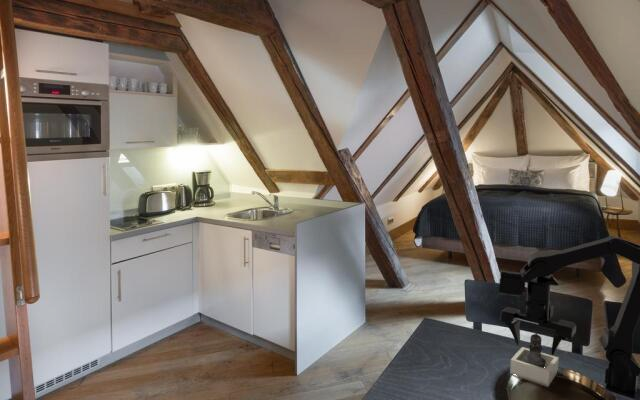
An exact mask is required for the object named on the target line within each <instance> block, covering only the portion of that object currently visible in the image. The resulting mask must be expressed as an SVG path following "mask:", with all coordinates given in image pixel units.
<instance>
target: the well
mask: <svg viewBox="0 0 640 400" xmlns="http://www.w3.org/2000/svg"><path fill="white" fill-rule="evenodd" d="M529 352H530V348H529V347H524V346H521V348H520V349H519V350H518V351H517V352H516V353H515V354H514V356H513V357H512V358H511V359H510V365H509V366H510V368H509V369H510V371H509V374H510V375H511V374H516V375H517V376H518V377H517V376H516V377H517V378H520V379H523V380H526V381H528V382H531V383H535V384H538V385H540V386H544V387H546V388H549V386H550V385H551V383H552V381H553V380H554V379H555V377H556V375H557V374H558V373H557V370H558V371H559V360H560V359H559V358H560V357H559V356H555V355H553V356H552V354H551V355H550V354H547V353H544V352H541V357H542V358H544V359H545V360H546V364H545V366H544V367H545V368H542V367H538V366H535V365H532V364H529V363H526V362H525V360H524V356H526V355H529Z"/></svg>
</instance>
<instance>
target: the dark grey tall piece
mask: <svg viewBox="0 0 640 400" xmlns="http://www.w3.org/2000/svg"><path fill="white" fill-rule="evenodd" d="M529 341H530V343H529V345H528V349H530V352H529V355H526V356H524V360H525V362H526V363H529V364H532V365H535V366H538V367H542V368H544V366H545V364H546V360H545V359H544V358H542V357H541V353H542V350H543V347H542V337H541V335H539V334H538V332H537V331H536V332H534V334H532V335H530V340H529Z"/></svg>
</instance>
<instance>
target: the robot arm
mask: <svg viewBox="0 0 640 400" xmlns="http://www.w3.org/2000/svg"><path fill="white" fill-rule="evenodd" d="M614 254H616V255H619V256H620V257H623V258H625V259H627V260H629V261H631V278H630V281H629V285H628V287H627V290H626V292H625V295H624V296H623V297H624V298H623V300H622V303H621V307H620V308H619V311H618V314H617V317H616V320H615V322H614V325H612V326H611V327H610V328H607V327H603V329H602V334H601V336H600V337H599V338H598V341H599V343H600V347H601V349H602V352H603V354H604V356H605V358H606V359H607V361H608V362H609V363H608V364H607V366H606V368H605V374H604V384H605V389H606V390H609V391H612V392H614V393H618V394H621V395H624V396H627V397H630V398H635V397H636V395H637V392H638V389H639V386H638V379H639V375H640V365H639V363H638V361H637V359H636V358H635V356H634V354H633V352H634V333H635V330H636V327H637V325H638V322H639V319H640V245H639V244H637V243H634V242H632V241H630V240H627V239H623V238H621V237H619V236H616V235H608V236H607V237H604V238H601V239H598V240H594V241H590V242H587V243H582V244H579V245H576V246H572V247H569V248H568V247H567V248H565V249H562V250H561V249H560V250H545V251H536V252H533V253H531V254H530V255H529V257H528V261H527V263H526V264H525V265H524V266H523V268H521V269H520V272H516V271H509V270H504V269H502V270H500V278H499V282H498V283H499V286H498V287H499V288H498V291H499V292H498V294H499V295H505V296H507V295H508V296H515V297H520V296H522V295H523V294H525V293H526V301H525V309H526V310H525V314H524V313H521V310H520V309H519V308H515V307H510V306H506V307H505V308H504V309H503V310H501V312H499V313H500V314H499V321H501V322H504V325H505V326H507V327H508V330H510V332H511V334H512V337H513V339H514V341H515V343H516V346H518V347H519V346H520V345H521V327H520V326H521V322H524V323H529V324H531V325H535V326H536V325H537V326H541V327H545V328H548V329H552V330H554V334H553V337H552V343H551V352H550V353H551V355H552V356H555V353H556V352H557V349H558V348H559V345H560V343H561V341H566V340H567V339H572V338H573V337H574V336H575V334H576V332H577V324H576V323H575V322H574V321H570V320H565V319H559V320H558V322H556V321H552V320H551V318H552V317H553V315H554V309H555V305H552V304H551V300H550V298H551V297H550V294H551V286H559V284H560V283H559V281H558V280H557V279H556V278H555V277H554V275H553V274H556V273H557V272H559V271H561V270H562V269H563V268H566V267H569V266H571V265H574V264H575V265H576V264H579V263H583V262H587V261H590V260H591V261H592V260H595V259H597V258H602V257H606V256H610V255H614ZM526 283H527V287H526ZM526 289H527V290H526ZM525 291H526V292H525ZM549 319H550V320H549Z"/></svg>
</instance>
